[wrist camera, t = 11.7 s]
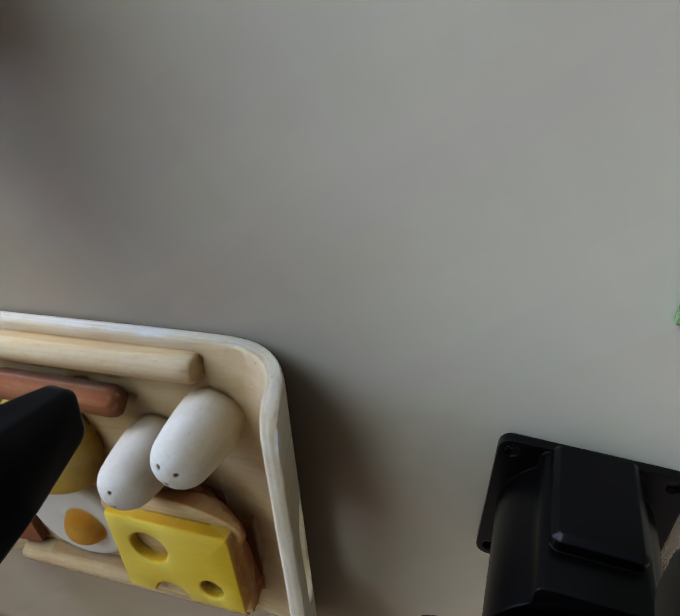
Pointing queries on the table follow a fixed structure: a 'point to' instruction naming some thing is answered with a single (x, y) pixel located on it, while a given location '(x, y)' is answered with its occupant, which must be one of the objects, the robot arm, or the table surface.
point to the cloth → (677, 317)
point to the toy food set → (168, 462)
